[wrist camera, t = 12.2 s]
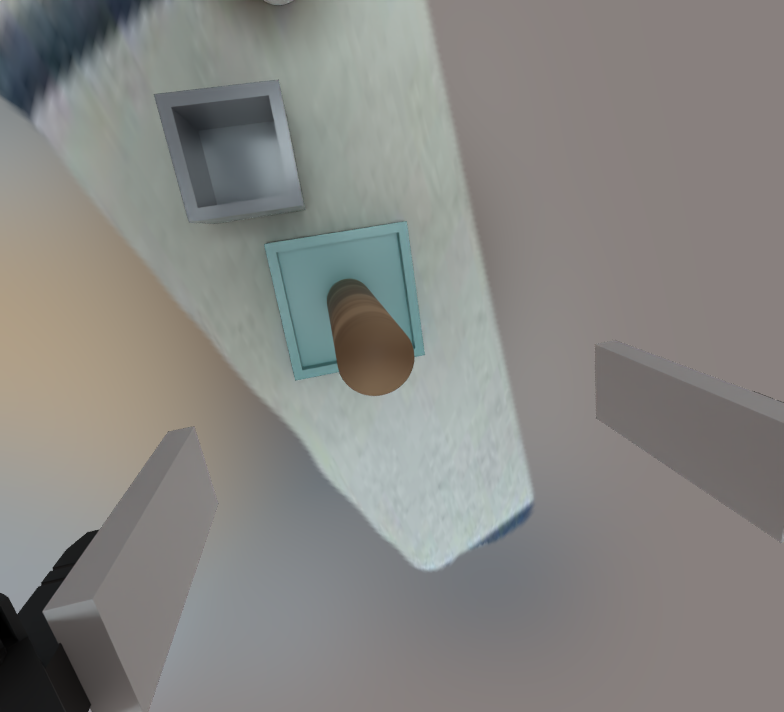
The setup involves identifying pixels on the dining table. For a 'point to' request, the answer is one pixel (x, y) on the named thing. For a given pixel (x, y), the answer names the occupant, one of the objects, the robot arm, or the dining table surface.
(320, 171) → the dining table surface
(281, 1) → the soft serve ice cream cone
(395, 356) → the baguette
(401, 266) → the tray
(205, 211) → the open box
